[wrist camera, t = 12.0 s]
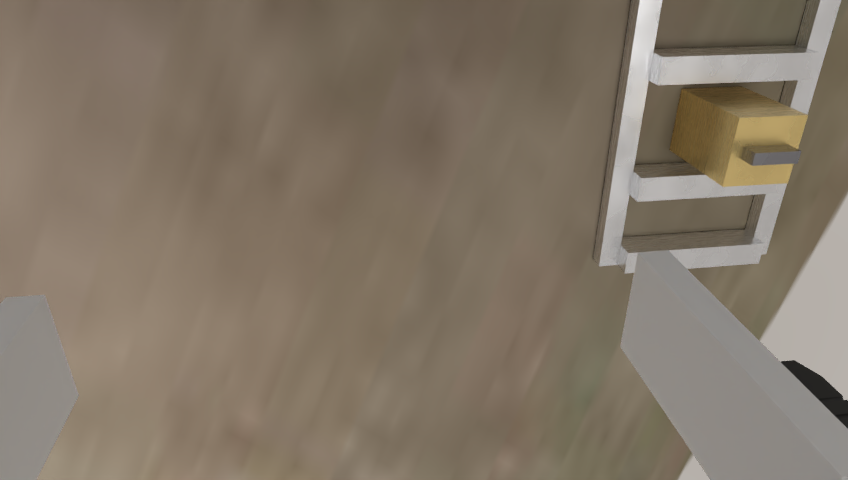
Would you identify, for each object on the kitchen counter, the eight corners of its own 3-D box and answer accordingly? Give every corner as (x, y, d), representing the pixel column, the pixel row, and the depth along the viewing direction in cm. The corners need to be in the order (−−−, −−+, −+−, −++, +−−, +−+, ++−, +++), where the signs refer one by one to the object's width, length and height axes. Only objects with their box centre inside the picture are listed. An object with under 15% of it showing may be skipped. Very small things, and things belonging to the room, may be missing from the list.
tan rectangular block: (669, 149, 46) (733, 194, 39) (681, 88, 44) (751, 123, 36) (726, 147, 46) (800, 190, 39) (741, 86, 44) (821, 120, 37)
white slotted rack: (638, -48, 39) (656, -46, 37) (841, -50, 41) (871, -48, 38) (593, 258, 49) (605, 274, 47) (756, 246, 51) (776, 261, 49)
